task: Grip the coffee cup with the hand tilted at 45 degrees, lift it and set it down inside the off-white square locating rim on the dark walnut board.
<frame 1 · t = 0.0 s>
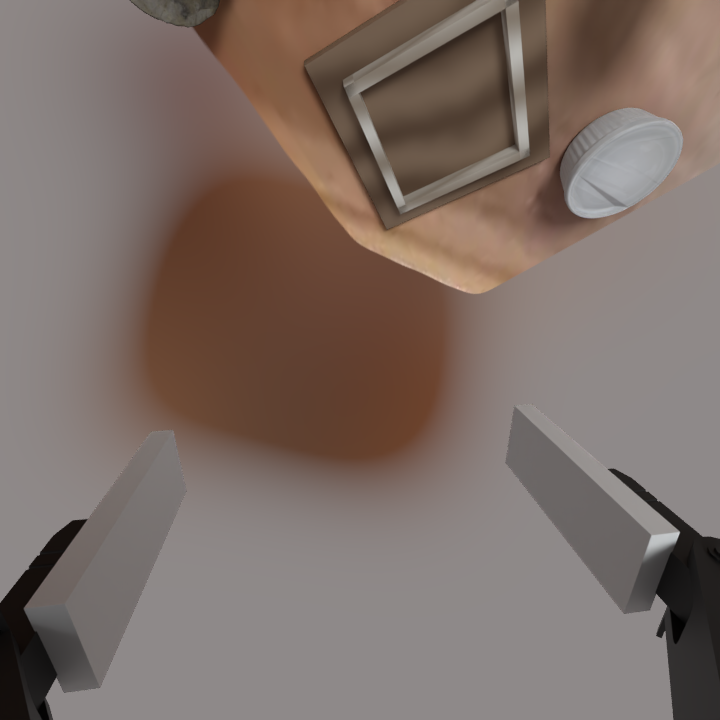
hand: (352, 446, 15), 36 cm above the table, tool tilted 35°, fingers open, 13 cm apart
locating board: (440, 112, 39), on the table
ramekin: (600, 149, 44), on the table
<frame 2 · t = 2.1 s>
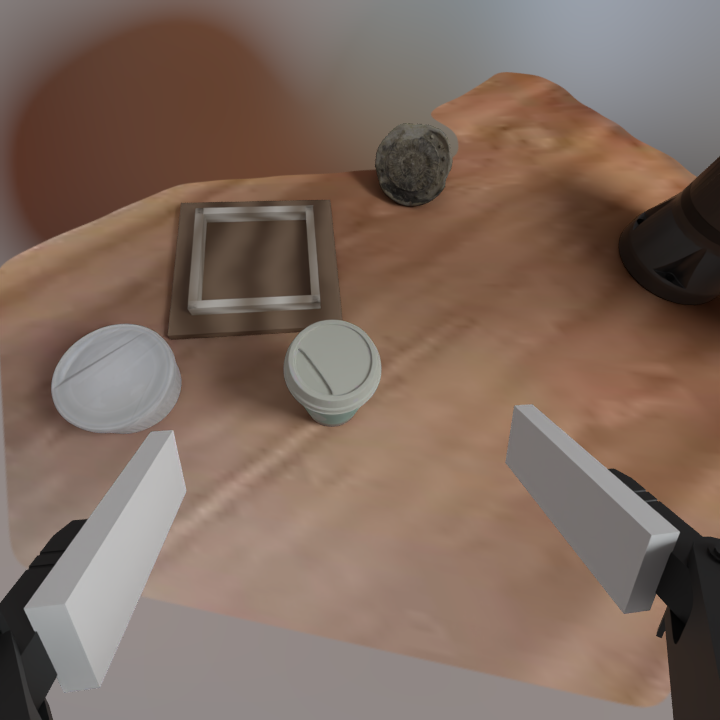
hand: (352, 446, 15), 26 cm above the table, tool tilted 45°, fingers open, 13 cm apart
locating board: (258, 265, 49), on the table
coffee cup: (332, 401, 43), on the table
fossil: (408, 186, 57), on the table
ramekin: (138, 391, 42), on the table
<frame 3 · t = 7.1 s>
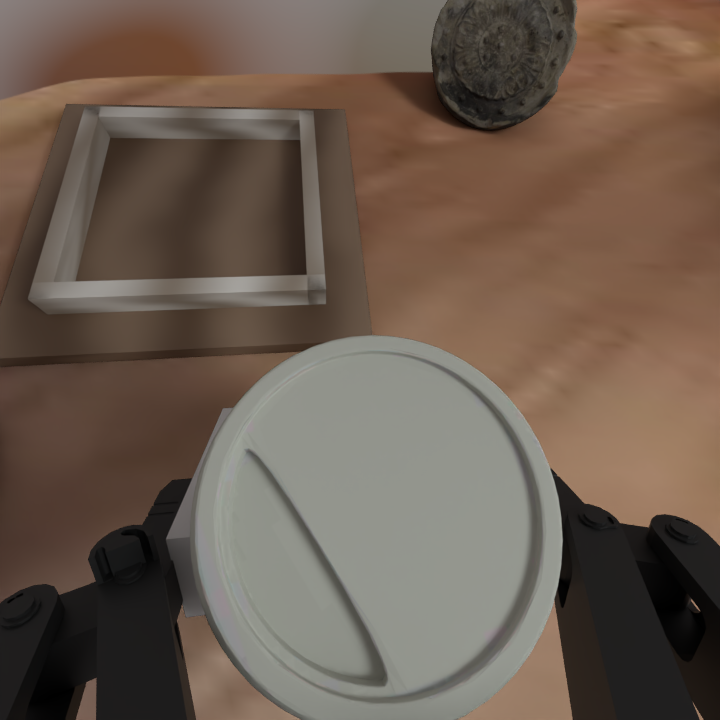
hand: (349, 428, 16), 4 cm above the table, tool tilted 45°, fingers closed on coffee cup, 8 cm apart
locating board: (206, 219, 25), on the table
coffee cup: (349, 515, 19), on the table, touching gripper
fossil: (480, 101, 33), on the table
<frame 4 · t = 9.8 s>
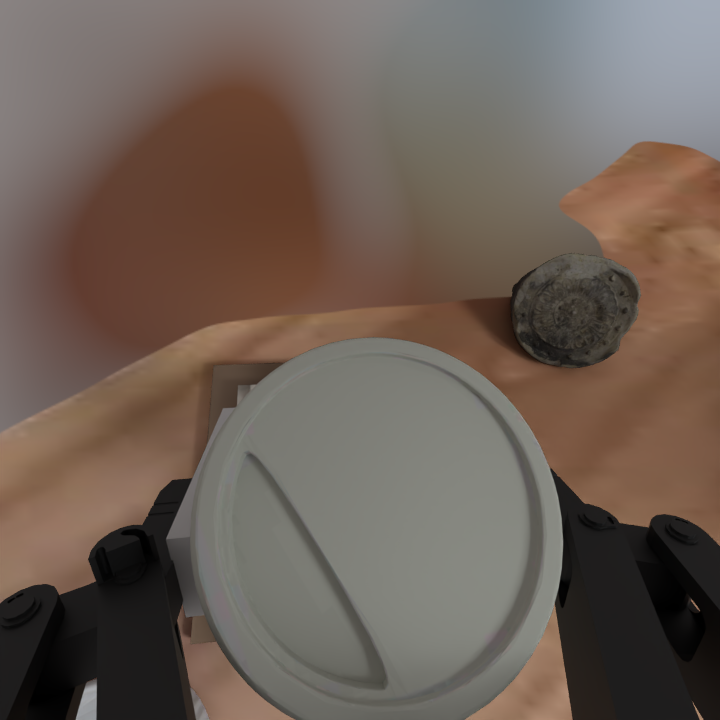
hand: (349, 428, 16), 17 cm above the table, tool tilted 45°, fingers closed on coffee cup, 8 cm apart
locating board: (334, 478, 31), on the table
coffee cup: (349, 516, 19), point 12 cm above the table, touching gripper
fossil: (547, 327, 39), on the table
when the fingers open (7 cm above the table, at t = 12.9 s): coffee cup drops 1 cm, resting on locating board.
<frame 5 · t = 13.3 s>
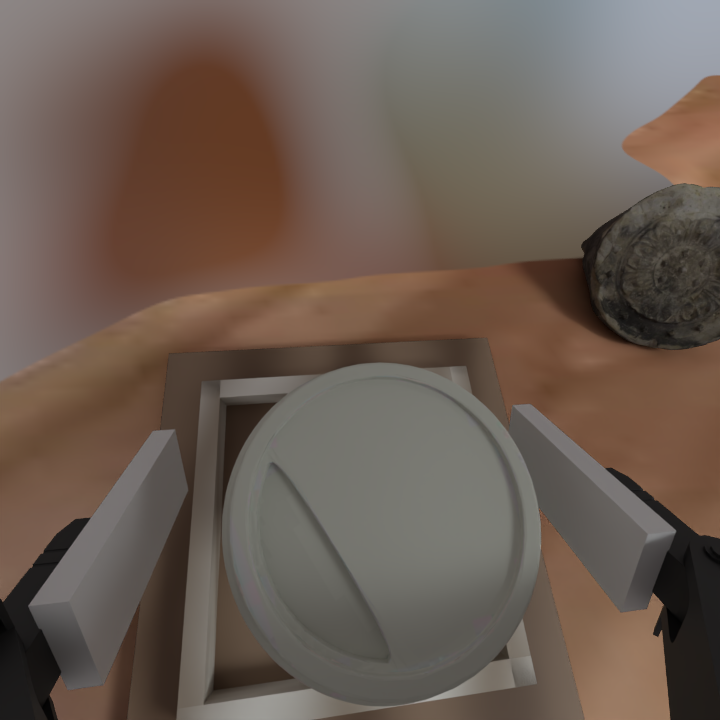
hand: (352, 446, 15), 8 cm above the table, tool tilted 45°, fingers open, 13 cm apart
locating board: (347, 516, 21), on the table
coffee cup: (354, 517, 20), point 1 cm above the table, touching locating board
fossil: (629, 297, 29), on the table
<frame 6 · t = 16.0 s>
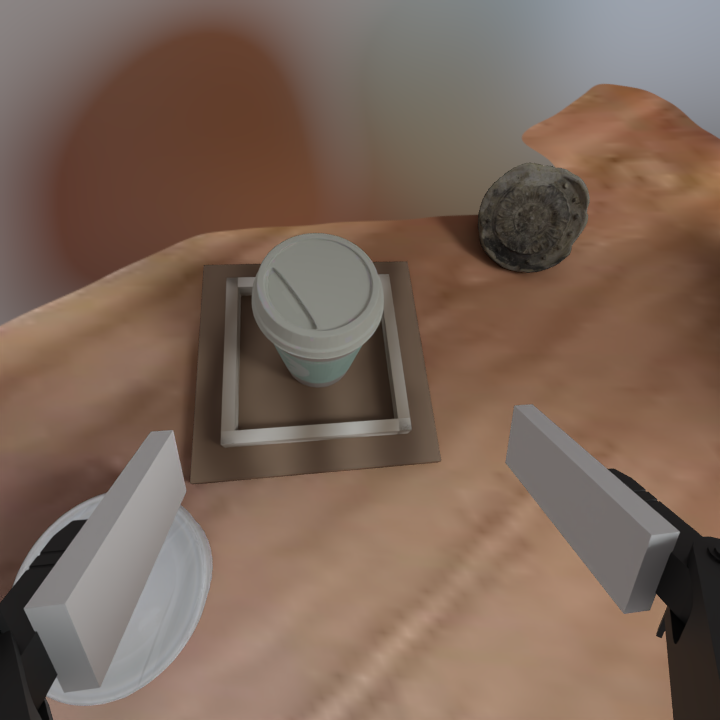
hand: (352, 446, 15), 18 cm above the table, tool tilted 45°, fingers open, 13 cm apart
locating board: (314, 360, 35), on the table
coffee cup: (318, 358, 34), point 1 cm above the table, touching locating board
fossil: (511, 241, 43), on the table
ramekin: (147, 574, 28), on the table
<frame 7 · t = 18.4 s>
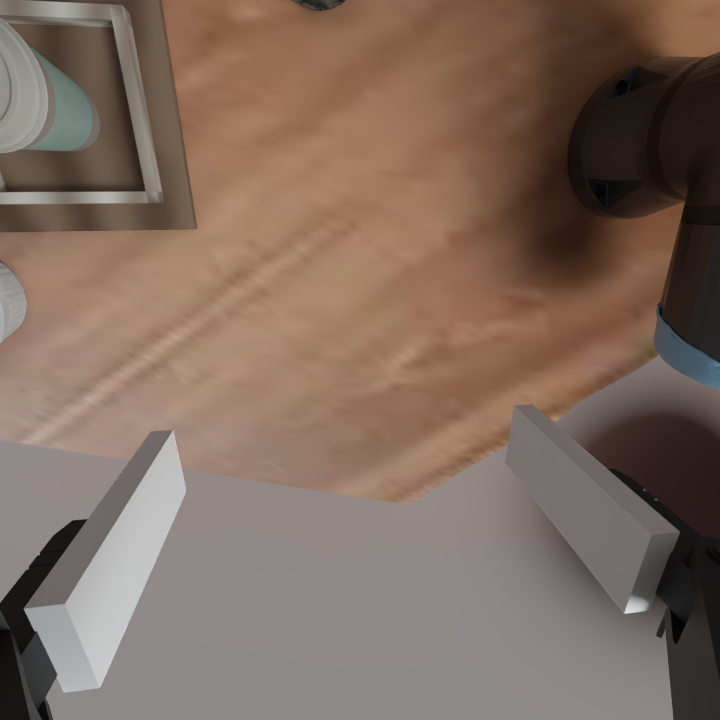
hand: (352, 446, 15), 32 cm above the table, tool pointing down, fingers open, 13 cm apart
locating board: (67, 116, 35), on the table
coffee cup: (66, 116, 35), point 1 cm above the table, touching locating board
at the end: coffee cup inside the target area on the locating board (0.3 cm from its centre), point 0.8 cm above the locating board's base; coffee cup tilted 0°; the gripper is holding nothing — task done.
